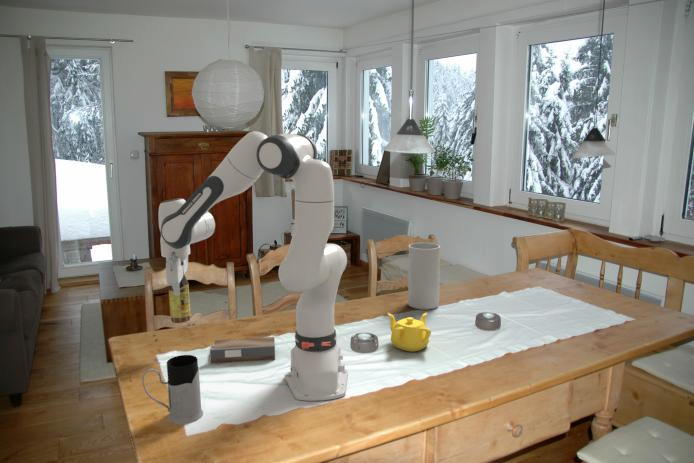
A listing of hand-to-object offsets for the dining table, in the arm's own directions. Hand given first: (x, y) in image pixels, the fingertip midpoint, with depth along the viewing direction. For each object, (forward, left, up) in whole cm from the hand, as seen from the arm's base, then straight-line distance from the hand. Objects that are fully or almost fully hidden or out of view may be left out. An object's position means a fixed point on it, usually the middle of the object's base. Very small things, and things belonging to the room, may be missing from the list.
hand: (179, 291), depth 181 cm
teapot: (-5, -75, -21) cm, 78 cm away
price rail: (-9, -20, -20) cm, 29 cm away
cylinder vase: (+35, -91, -21) cm, 100 cm away
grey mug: (-42, -4, -21) cm, 47 cm away
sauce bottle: (0, 0, -10) cm, 10 cm away
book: (-2, -20, -21) cm, 29 cm away
